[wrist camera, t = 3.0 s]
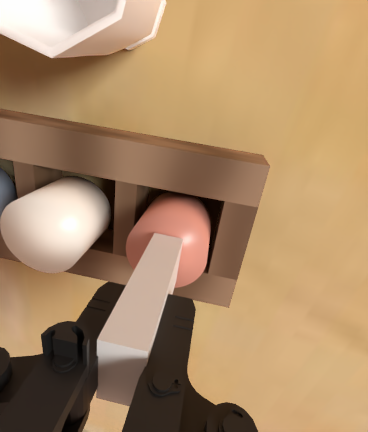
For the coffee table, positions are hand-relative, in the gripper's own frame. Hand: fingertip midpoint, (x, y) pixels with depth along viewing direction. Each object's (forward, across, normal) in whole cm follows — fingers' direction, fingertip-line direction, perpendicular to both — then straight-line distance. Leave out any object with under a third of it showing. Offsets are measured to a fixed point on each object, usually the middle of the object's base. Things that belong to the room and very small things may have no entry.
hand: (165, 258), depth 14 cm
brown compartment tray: (+6, -7, 0) cm, 9 cm away
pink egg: (+4, 0, 0) cm, 4 cm away
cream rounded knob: (+3, -7, 0) cm, 7 cm away
